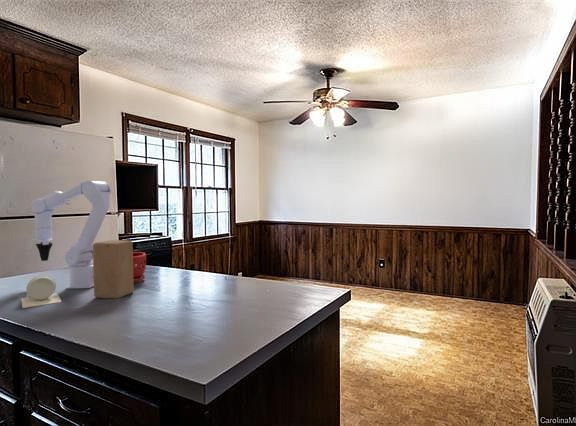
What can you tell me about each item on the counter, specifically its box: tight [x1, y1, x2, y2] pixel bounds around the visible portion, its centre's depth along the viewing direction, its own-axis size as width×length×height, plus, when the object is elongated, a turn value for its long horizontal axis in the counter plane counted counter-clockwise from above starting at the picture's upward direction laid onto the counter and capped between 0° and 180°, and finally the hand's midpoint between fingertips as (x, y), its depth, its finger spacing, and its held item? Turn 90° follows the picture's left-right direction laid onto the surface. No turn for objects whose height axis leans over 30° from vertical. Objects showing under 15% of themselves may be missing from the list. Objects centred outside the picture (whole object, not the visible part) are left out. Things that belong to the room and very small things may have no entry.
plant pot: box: [133, 251, 147, 284], centre depth 159 cm, size 13×13×12 cm
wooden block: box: [92, 239, 135, 300], centre depth 136 cm, size 10×10×20 cm
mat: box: [20, 293, 63, 309], centre depth 129 cm, size 14×11×1 cm
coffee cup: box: [26, 275, 56, 300], centre depth 132 cm, size 8×9×12 cm
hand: (44, 260), depth 152 cm, fingers closed
